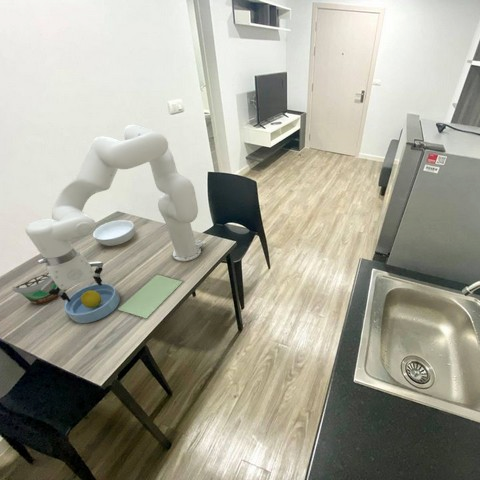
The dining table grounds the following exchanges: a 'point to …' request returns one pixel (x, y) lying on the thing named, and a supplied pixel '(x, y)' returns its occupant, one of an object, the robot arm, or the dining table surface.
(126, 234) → the cereal bowl
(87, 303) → the lemon
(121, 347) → the dining table surface
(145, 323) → the dining table surface
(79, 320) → the bowl
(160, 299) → the napkin
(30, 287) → the food container
